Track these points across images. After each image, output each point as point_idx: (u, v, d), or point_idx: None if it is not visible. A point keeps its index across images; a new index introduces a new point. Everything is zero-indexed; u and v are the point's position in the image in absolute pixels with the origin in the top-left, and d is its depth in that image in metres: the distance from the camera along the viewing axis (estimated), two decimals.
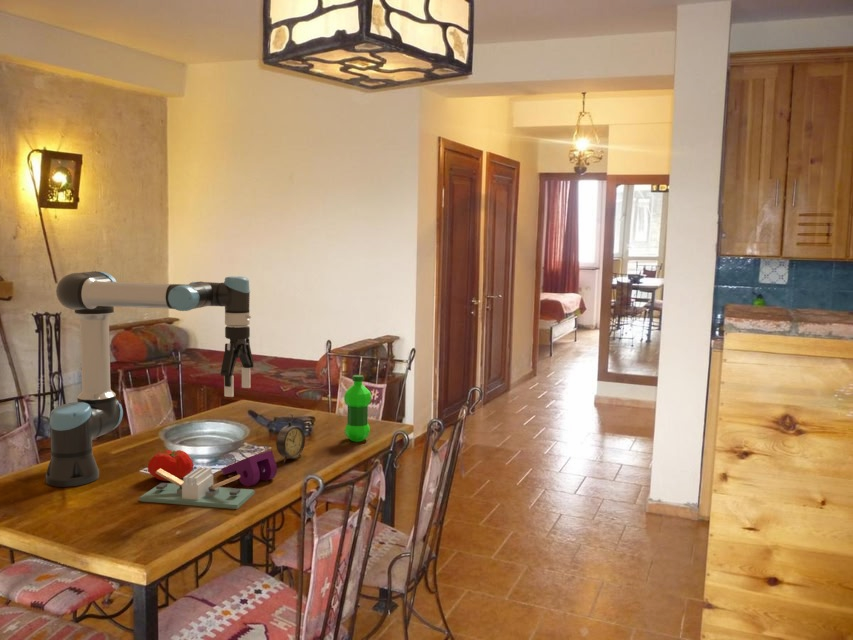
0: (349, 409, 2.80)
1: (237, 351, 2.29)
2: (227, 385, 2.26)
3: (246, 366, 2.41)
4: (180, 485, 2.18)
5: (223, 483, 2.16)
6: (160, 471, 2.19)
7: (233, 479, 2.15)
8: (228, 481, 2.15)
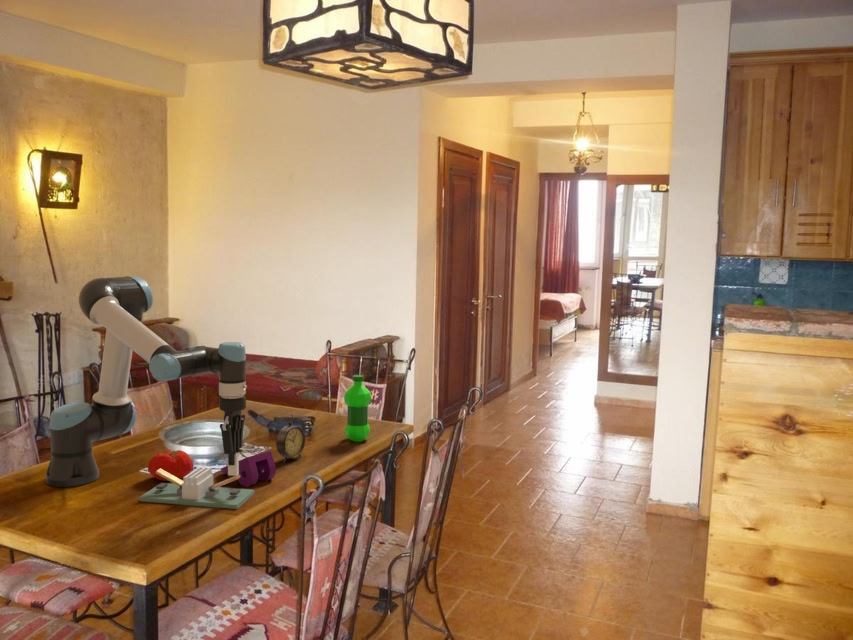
0: (349, 409, 2.80)
1: (234, 426, 2.12)
2: (231, 464, 2.14)
3: None
4: (180, 485, 2.18)
5: (223, 483, 2.16)
6: (160, 471, 2.19)
7: (233, 479, 2.15)
8: (228, 481, 2.15)
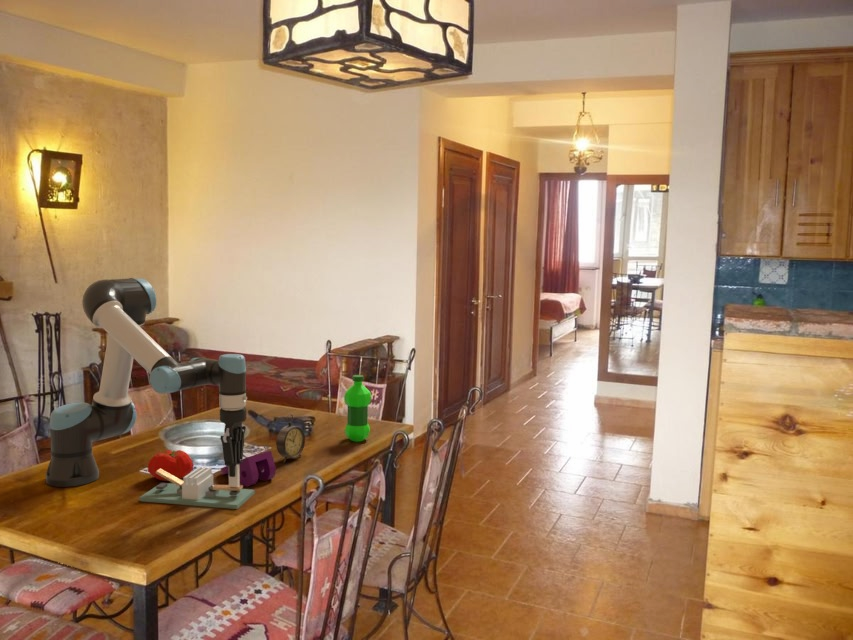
0: (349, 409, 2.80)
1: (235, 438, 2.13)
2: (232, 475, 2.14)
3: None
4: (180, 485, 2.18)
5: (224, 488, 2.16)
6: (160, 471, 2.19)
7: (235, 489, 2.15)
8: (230, 489, 2.16)
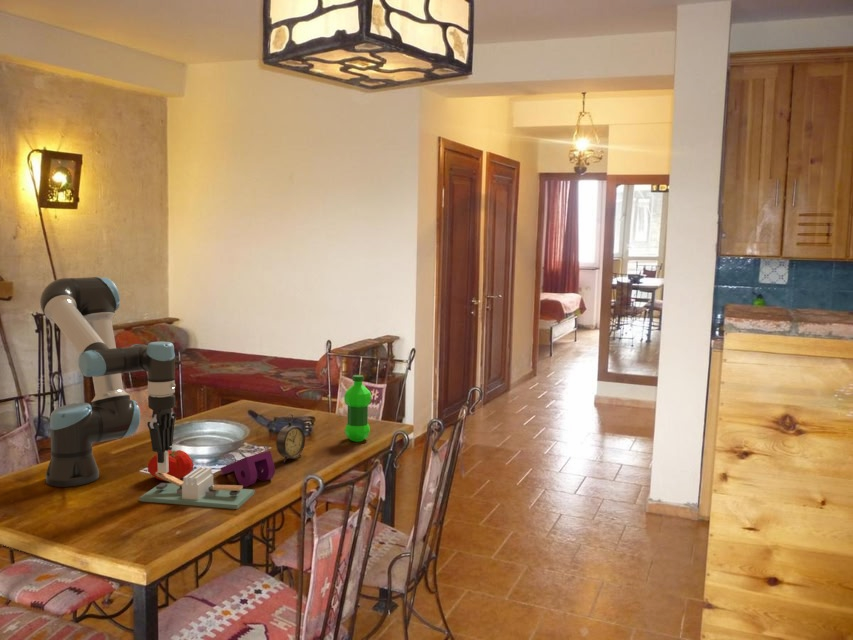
0: (349, 409, 2.80)
1: (163, 424, 2.16)
2: (160, 461, 2.17)
3: None
4: (180, 485, 2.18)
5: (224, 489, 2.16)
6: (159, 473, 2.19)
7: (235, 489, 2.15)
8: (230, 489, 2.16)
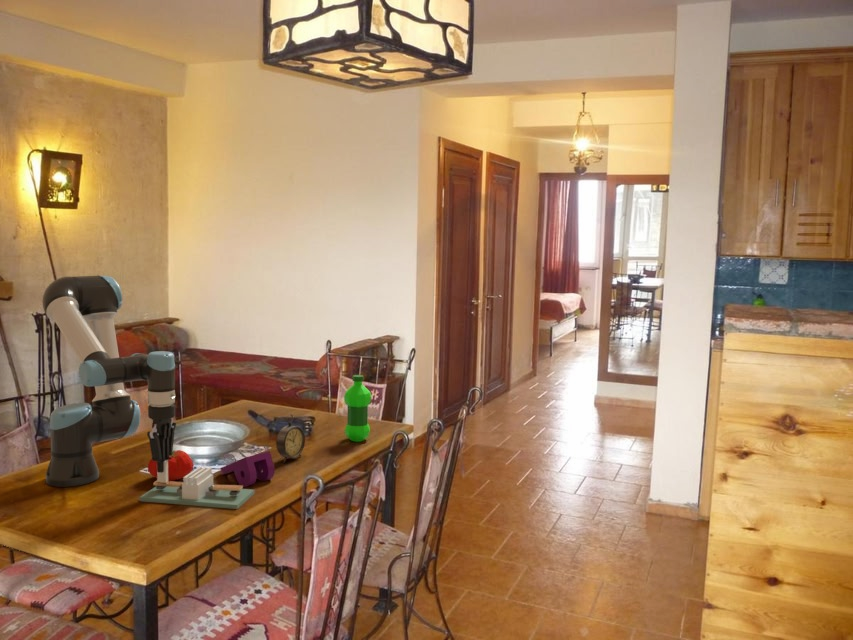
0: (349, 409, 2.80)
1: (162, 434, 2.16)
2: (160, 471, 2.18)
3: None
4: (180, 486, 2.18)
5: (224, 489, 2.16)
6: None
7: (235, 489, 2.15)
8: (230, 489, 2.16)
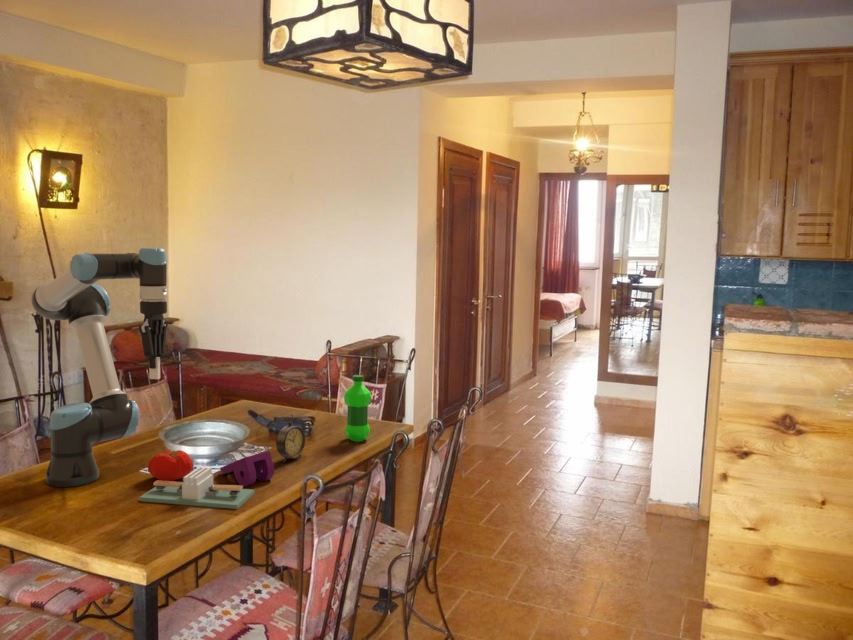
0: (349, 409, 2.80)
1: (154, 329, 2.17)
2: (152, 367, 2.18)
3: None
4: (180, 486, 2.18)
5: (224, 489, 2.16)
6: (157, 482, 2.20)
7: (235, 489, 2.15)
8: (230, 489, 2.16)
